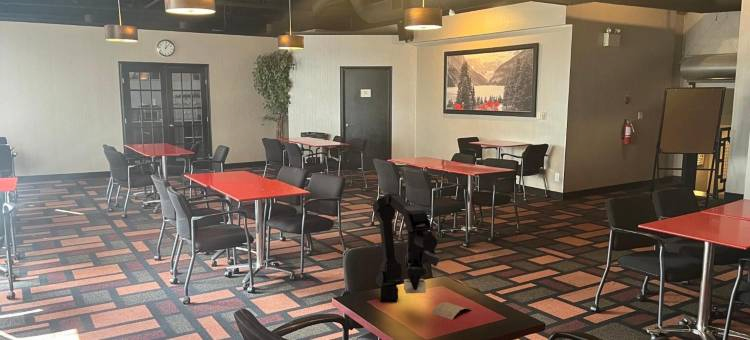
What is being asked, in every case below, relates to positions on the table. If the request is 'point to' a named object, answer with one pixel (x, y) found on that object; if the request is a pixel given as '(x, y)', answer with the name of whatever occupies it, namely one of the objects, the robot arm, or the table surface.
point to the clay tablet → (447, 310)
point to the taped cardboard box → (409, 287)
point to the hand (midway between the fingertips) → (414, 287)
